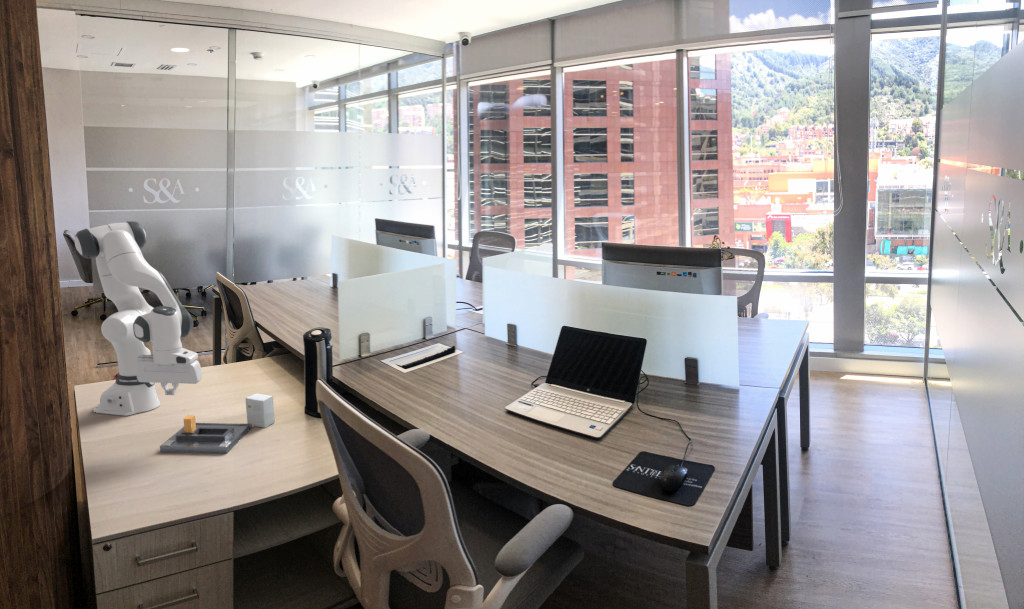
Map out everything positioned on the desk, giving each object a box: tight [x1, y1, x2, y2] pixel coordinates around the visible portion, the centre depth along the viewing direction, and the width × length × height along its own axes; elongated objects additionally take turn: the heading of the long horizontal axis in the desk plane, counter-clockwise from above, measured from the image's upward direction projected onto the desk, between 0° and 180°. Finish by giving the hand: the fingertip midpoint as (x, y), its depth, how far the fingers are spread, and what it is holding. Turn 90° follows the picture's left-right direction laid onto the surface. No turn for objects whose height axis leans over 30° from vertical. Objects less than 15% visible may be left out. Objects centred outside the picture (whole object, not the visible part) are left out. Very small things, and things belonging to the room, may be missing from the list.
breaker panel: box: [159, 425, 249, 454], centre depth 223 cm, size 22×18×4 cm
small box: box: [245, 393, 276, 429], centre depth 239 cm, size 8×6×10 cm
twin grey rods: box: [196, 422, 253, 431], centre depth 235 cm, size 22×3×1 cm, turn 91°
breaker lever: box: [182, 414, 199, 434], centre depth 223 cm, size 4×4×6 cm
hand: (170, 394), depth 220 cm, fingers closed
